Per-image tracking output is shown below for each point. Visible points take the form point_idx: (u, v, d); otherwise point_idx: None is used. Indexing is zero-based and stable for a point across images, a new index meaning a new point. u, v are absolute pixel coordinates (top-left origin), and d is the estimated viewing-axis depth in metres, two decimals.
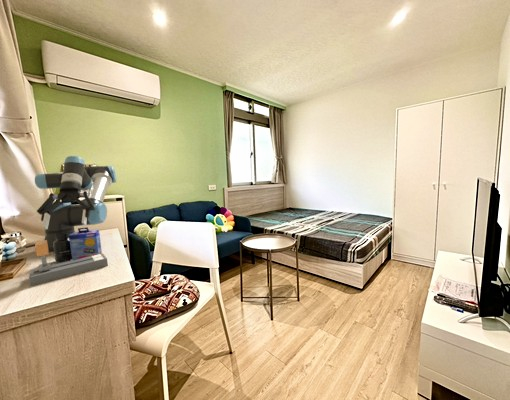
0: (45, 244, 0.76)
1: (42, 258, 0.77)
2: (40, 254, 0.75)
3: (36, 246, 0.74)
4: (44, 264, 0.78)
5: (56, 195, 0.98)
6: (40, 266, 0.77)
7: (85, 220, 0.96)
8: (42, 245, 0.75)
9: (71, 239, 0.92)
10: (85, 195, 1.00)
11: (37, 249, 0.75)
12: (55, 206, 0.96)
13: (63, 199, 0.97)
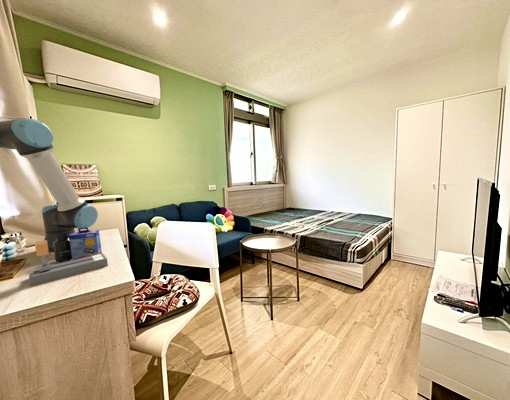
0: (45, 244, 0.76)
1: (42, 258, 0.77)
2: (40, 254, 0.75)
3: (36, 246, 0.74)
4: (44, 264, 0.78)
5: None
6: (40, 266, 0.77)
7: None
8: (42, 245, 0.75)
9: (71, 239, 0.92)
10: None
11: (37, 249, 0.75)
12: None
13: None
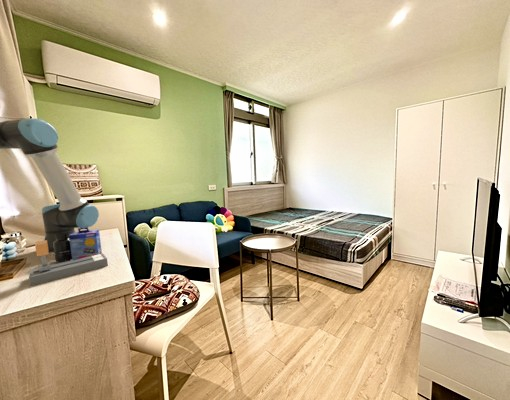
0: (45, 244, 0.76)
1: (42, 258, 0.77)
2: (40, 254, 0.75)
3: (36, 246, 0.74)
4: (44, 264, 0.78)
5: None
6: (40, 266, 0.77)
7: None
8: (42, 245, 0.75)
9: (71, 239, 0.92)
10: None
11: (37, 249, 0.75)
12: None
13: None
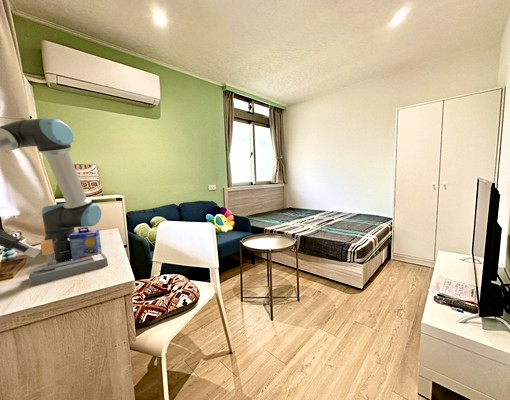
0: (50, 243, 0.77)
1: (47, 257, 0.78)
2: (45, 253, 0.76)
3: (42, 245, 0.75)
4: (49, 263, 0.79)
5: None
6: (45, 265, 0.78)
7: (32, 251, 0.75)
8: (47, 244, 0.76)
9: (71, 239, 0.92)
10: None
11: (43, 248, 0.76)
12: None
13: None
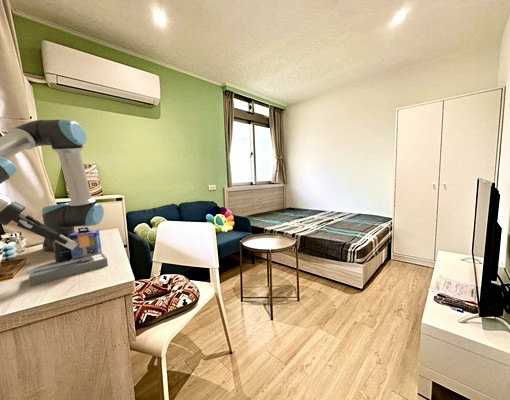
0: (87, 237, 0.84)
1: (83, 249, 0.85)
2: (82, 246, 0.83)
3: (79, 238, 0.82)
4: (85, 255, 0.86)
5: None
6: (81, 257, 0.85)
7: (70, 244, 0.82)
8: (84, 237, 0.83)
9: (71, 239, 0.92)
10: (29, 230, 0.71)
11: (80, 241, 0.83)
12: None
13: None
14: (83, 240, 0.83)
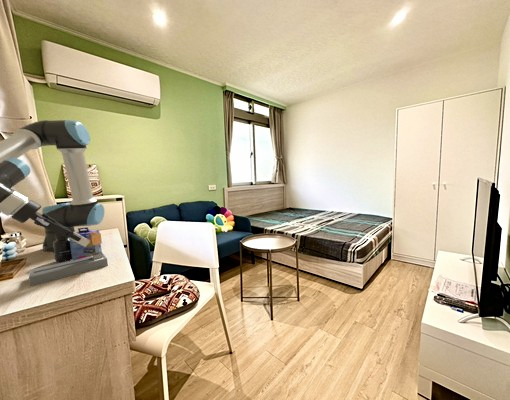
0: (99, 234, 0.87)
1: (95, 247, 0.88)
2: (95, 243, 0.86)
3: (92, 236, 0.85)
4: (97, 252, 0.88)
5: None
6: (94, 254, 0.88)
7: (83, 241, 0.85)
8: (97, 235, 0.86)
9: None
10: (46, 227, 0.74)
11: (93, 239, 0.85)
12: None
13: None
14: (96, 238, 0.86)
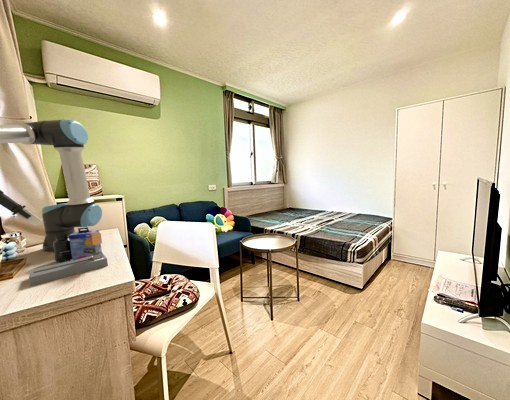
0: (99, 234, 0.87)
1: (96, 247, 0.88)
2: (95, 243, 0.86)
3: (92, 236, 0.85)
4: (97, 252, 0.88)
5: None
6: (94, 254, 0.88)
7: (34, 220, 0.77)
8: (97, 235, 0.86)
9: (71, 239, 0.92)
10: None
11: (93, 239, 0.85)
12: None
13: None
14: (96, 238, 0.86)
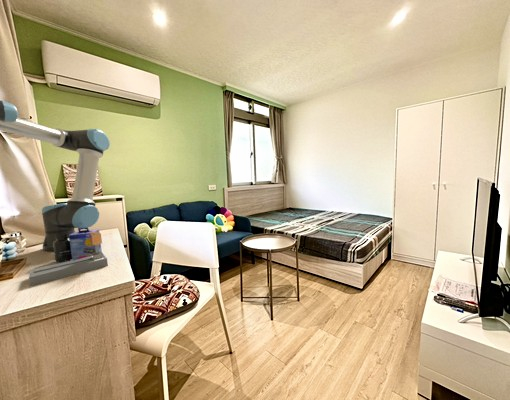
0: (99, 234, 0.87)
1: (96, 247, 0.88)
2: (95, 243, 0.86)
3: (92, 236, 0.85)
4: (97, 252, 0.88)
5: None
6: (94, 254, 0.88)
7: None
8: (97, 235, 0.86)
9: (71, 239, 0.92)
10: None
11: (93, 239, 0.85)
12: None
13: None
14: (96, 238, 0.86)
